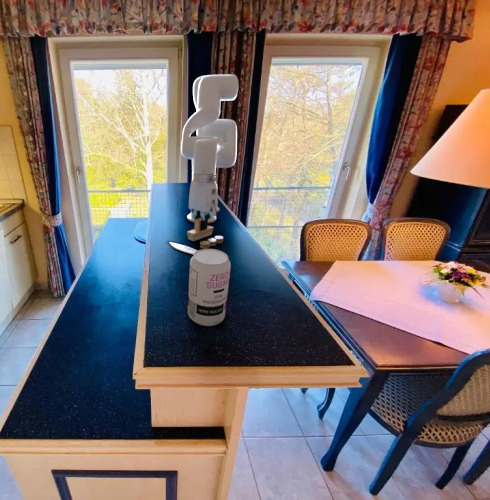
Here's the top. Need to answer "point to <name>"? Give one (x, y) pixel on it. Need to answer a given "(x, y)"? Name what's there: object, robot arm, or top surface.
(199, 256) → the supplement can
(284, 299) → the top surface
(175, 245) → the knife
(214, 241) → the crumb middle
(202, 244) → the crumb
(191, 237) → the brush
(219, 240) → the crumb
